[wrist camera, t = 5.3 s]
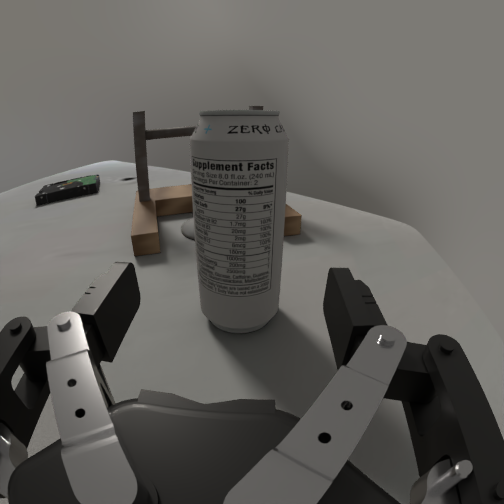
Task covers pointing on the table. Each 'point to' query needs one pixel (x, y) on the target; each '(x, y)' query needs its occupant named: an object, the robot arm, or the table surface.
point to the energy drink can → (239, 215)
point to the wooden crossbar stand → (169, 194)
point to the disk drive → (68, 189)
